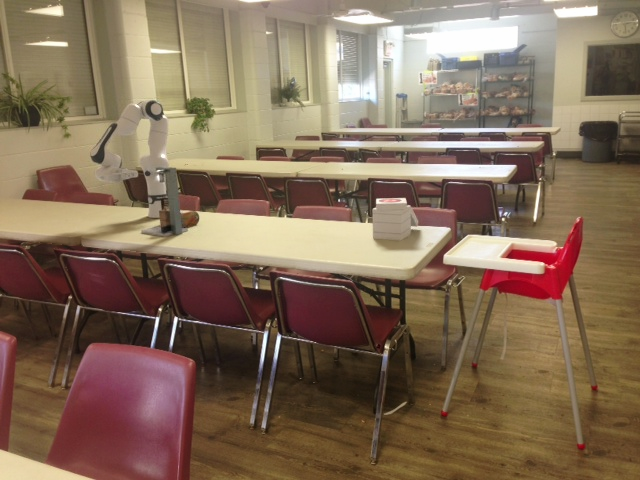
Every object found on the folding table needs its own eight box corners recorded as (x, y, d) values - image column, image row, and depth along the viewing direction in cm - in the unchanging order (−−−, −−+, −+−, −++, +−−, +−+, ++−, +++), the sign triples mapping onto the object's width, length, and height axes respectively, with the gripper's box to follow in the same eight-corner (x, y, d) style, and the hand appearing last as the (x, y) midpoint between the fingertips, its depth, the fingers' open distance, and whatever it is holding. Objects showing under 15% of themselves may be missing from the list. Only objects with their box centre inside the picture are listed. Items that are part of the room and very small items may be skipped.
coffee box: (162, 224, 338) (159, 198, 334) (166, 222, 344) (163, 196, 340) (177, 224, 337) (174, 197, 333) (181, 222, 343) (178, 195, 340)
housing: (168, 228, 320) (165, 205, 317) (174, 229, 317) (171, 206, 314) (160, 230, 316) (158, 207, 313) (166, 231, 314) (164, 207, 310)
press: (164, 227, 331) (158, 164, 322) (190, 231, 317) (184, 166, 309) (131, 235, 313) (123, 169, 305) (157, 240, 300) (150, 171, 292)
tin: (180, 229, 325) (178, 214, 323) (176, 228, 327) (175, 214, 325) (200, 224, 337) (199, 210, 335) (196, 223, 339) (195, 209, 337)
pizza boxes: (421, 228, 303) (422, 195, 299) (403, 241, 277) (403, 204, 273) (387, 226, 312) (387, 193, 307) (366, 238, 286) (366, 203, 282)
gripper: (97, 171, 326) (112, 172, 317) (128, 167, 341) (143, 168, 333) (99, 182, 327) (113, 184, 319) (129, 178, 343) (144, 179, 335)
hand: (128, 176), depth 326 cm, fingers closed
